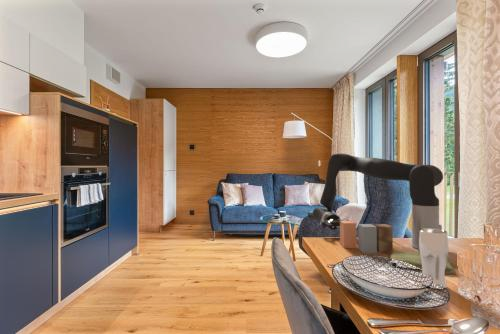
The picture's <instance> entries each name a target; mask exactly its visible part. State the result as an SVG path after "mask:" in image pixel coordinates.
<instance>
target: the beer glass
mask: <svg viewBox="0 0 500 334" xmlns="http://www.w3.org/2000/svg"><path fill="white" fill-rule="evenodd" d="M448 237H449V236H448V231H446V230H444V229H442V230H440V229H433V228H421V229H419V237H418V253H419V256H420V261H421V266H422V271H421V275H422V274H423V275H425V276H429V277H431V278H432V279H433V284H441V285H443V286H444V287H446V288H447V287H448V285H447V283H446V277H445V276H446V274H445V267H446V263H447V258H449V257H448V256H449V238H448Z"/></svg>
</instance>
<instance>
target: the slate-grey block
mask: <svg viewBox="0 0 500 334" xmlns="http://www.w3.org/2000/svg"><path fill="white" fill-rule="evenodd" d="M357 232H358V233H357V234H358V236H357V238H358V240H357V241H358V243H357V244H358V245H357V246H358V249H357V250H358V251H360V252H362V254H378V252H377V227H376V226H374V225H373V224H371V223H358V224H357Z"/></svg>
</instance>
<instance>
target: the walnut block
mask: <svg viewBox="0 0 500 334" xmlns="http://www.w3.org/2000/svg"><path fill="white" fill-rule="evenodd" d="M372 225H374V226H376V227H377V254H392V253H394V252H393V251H394V248H393V247H394V245H393V243H394V241H393V238H394V237H393V234H394V233H393V231H394V230H393V229H394V228H393V226H391V225H389V224H387V223H373V224H372Z"/></svg>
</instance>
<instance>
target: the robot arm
mask: <svg viewBox="0 0 500 334" xmlns="http://www.w3.org/2000/svg"><path fill="white" fill-rule="evenodd" d="M326 170H327V171H326V175H325V176H326V177H325V181H324V182H325V183H324V188H323V190H322V191H323V192H322V193H321V196H320V197H321V198H320V200H319V203H320V205H322V206H323V207H325V208H322V207H319V206H318V207H315V208H313V211H312V213H311V214H312V218H313V219H314V220H315V221H317V222H320V223H319V226H321V228H322V229H325V228H327V229H329V230H332V231H334V230H338V229H340V221H351V220H350V219H346V220H344V219H341V217H340V216H339V215H338V214H336V213H334V212H333V206H334V203H335V199H336V196H337V177H338V174H339V172H358V173H361V174H362V175H365V176H367V177H370V178H374V179H378V180H379V179H380V180H388V181H389V180H391V181H405V182H408V185H409V196H410V199H411V235H412V236H411V239H412V240H411V245H412V247H413V248H415V249H418V237H419V229H421V228H433V229H440V230H443V226H442V224H440V198H438V196H437V195H436V193H435V192H436V190H435V187H437V186H439V185H440V184H441V183H442V181H443V178H444V174H443V172H442V170H441V169H440V168H438V167H437V166H435V165H433V164H413V163H412V164H411V163H409V164H408V163H406V162H405V163H403V162H400V161H396V160H395V161H394V160H390V159H385V158H380V157H379V158H378V157H361V156H360V157H359V156H356V155H355V156H354V155H350V154H347V153H341V152H340V153H333V154H331V156H330V157H329V160H328V164H327V169H326Z"/></svg>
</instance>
